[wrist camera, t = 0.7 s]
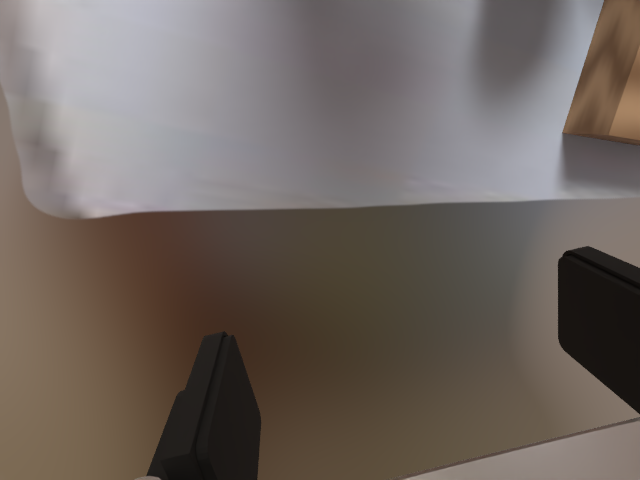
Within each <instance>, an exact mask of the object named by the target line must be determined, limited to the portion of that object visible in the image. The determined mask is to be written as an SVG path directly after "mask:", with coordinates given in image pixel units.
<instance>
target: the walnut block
mask: <svg viewBox="0 0 640 480" xmlns="http://www.w3.org/2000/svg"><path fill="white" fill-rule="evenodd" d="M562 133H566V134H572V135H578V136H585V137H591V138H597V139H603V140H609V141H615V142H621V143H627V144H633V145H640V0H604V3H603V6H602V9H601V13H600V16H599V19H598V22H597V25H596V28H595V31H594V35H593V38H592V41H591V44H590V47H589V50H588V54H587V57H586V60H585V63H584V66H583V69H582V72H581V76H580V79H579V82H578V85H577V88H576V91H575V94H574V98H573V101H572V104H571V107H570V110H569V113H568V116H567V120H566V123H565V126H564V129H563V132H562Z"/></svg>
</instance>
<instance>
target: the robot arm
mask: <svg viewBox="0 0 640 480" xmlns="http://www.w3.org/2000/svg"><path fill="white" fill-rule="evenodd" d="M558 339H559V343H560V345H561V347H562V348H563V350H564V351H565V352H567V353H568V354H569V355H570V356H571V357H572V358H574V359H575V360H576V361H577V362H578V363H580V364H581V365H582V366H583V367H584V368H585V369H587V370H588V371H589V372H590V373H591V374H593V375H594V376H595V377H596V378H597V379H599V380H600V381H601V382H602V383H603V384H604V385H606V386H607V387H608V388H609V389H610V390H612V391H613V392H614V393H615V394H616V395H618V396H619V397H620V398H621V399H623V400H624V401H625V402H626V403H627V404H628V405H629V406H631V407H632V408H633V409H634V410H636V411H637V412H638V413H639V414H640V268H638V267H636V266H634V265H631V264H629V263H627V262H624V261H622V260H620V259H617V258H615V257H613V256H610V255H608V254H606V253H603V252H601V251H599V250H597V249H594V248H592V247H588V246H586V247H582V248H577V249H573V250H569V251H566V252H565V253H564V254H563V256H562V257H561V258H560V259H559V261H558ZM260 431H261V417H260V412H259V408H258V405H257V402H256V399H255V396H254V393H253V390H252V387H251V384H250V381H249V378H248V375H247V372H246V369H245V366H244V363H243V360H242V357H241V354H240V351H239V348H238V345H237V342H236V339H235V337H234V335H230V336H228V335H227V333H226V332H221V333H216V334H212V335H208V336H204V338H203V340H202V343H201V346H200V348H199V351H198V354H197V357H196V360H195V363H194V365H193V368H192V371H191V374H190V377H189V379H188V383H187V385H186V388H185V390H183V391H180V392H179V393H178V395H177V396H176V399H175V402H174V404H173V407H172V409H171V412H170V415H169V417H168V420H167V423H166V425H165V428H164V431H163V433H162V436H161V438H160V441H159V444H158V447H157V449H156V452H155V454H154V457H153V460H152V462H151V465H150V468H149V470H148V473H147V476H146V477H140V478H137V479H135V480H257V474H258V460H259V445H260ZM387 480H640V417H639V418H634V419H630V420H626V421H622V422H617V423H613V424H609V425H605V426H601V427H597V428H593V429H588V430H585V431H580V432H576V433H572V434H568V435H564V436H560V437H556V438H552V439H548V440H543V441H540V442H536V443H532V444H527V445H523V446H519V447H515V448H511V449H507V450H503V451H499V452H495V453H491V454H487V455H483V456H479V457H475V458H471V459H467V460H463V461H458V462H454V463H450V464H447V465H443V466H439V467H435V468H431V469H427V470H423V471H419V472H415V473H411V474H407V475H403V476H400V477H395V478H391V479H387Z"/></svg>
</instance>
